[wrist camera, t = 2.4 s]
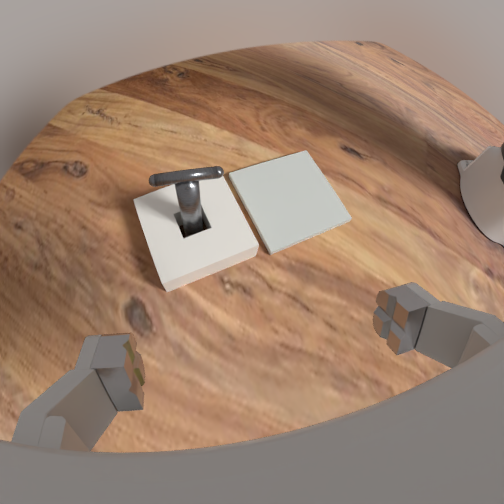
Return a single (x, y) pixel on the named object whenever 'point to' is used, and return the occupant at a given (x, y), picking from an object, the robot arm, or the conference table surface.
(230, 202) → the white square-hole block
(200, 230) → the chuck key
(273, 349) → the conference table surface
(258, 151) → the conference table surface
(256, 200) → the rubber mat
